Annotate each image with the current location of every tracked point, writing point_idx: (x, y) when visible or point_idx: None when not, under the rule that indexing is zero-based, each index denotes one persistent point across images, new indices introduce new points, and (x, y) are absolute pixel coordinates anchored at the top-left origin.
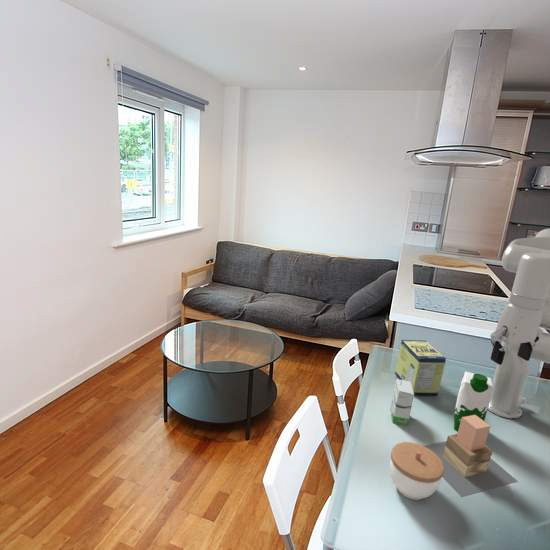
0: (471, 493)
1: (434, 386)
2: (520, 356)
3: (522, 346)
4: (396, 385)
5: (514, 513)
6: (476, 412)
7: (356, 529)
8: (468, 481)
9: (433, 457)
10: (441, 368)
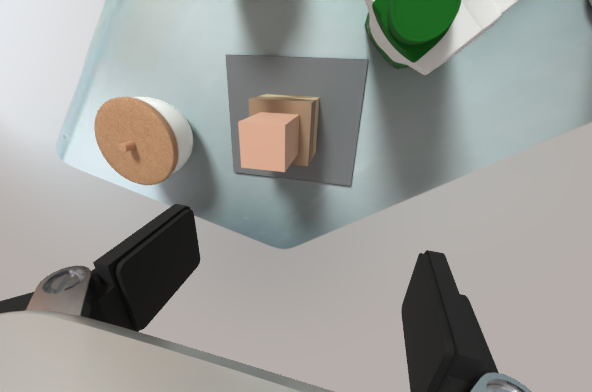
0: (252, 173)
1: None
2: (415, 274)
3: (431, 346)
4: None
5: (288, 214)
6: (387, 56)
7: (86, 156)
8: None
9: (160, 153)
10: None
